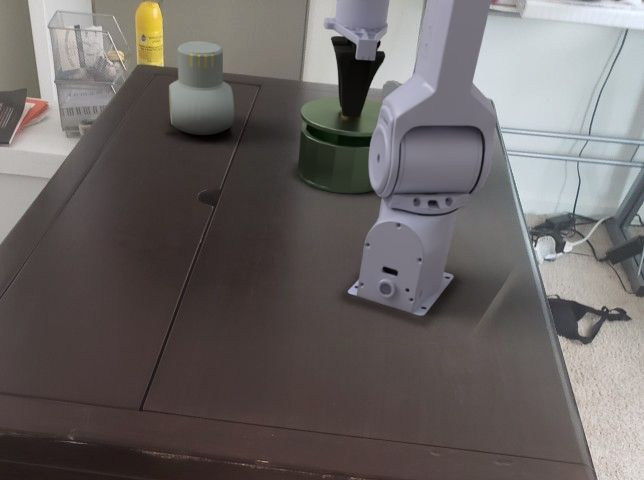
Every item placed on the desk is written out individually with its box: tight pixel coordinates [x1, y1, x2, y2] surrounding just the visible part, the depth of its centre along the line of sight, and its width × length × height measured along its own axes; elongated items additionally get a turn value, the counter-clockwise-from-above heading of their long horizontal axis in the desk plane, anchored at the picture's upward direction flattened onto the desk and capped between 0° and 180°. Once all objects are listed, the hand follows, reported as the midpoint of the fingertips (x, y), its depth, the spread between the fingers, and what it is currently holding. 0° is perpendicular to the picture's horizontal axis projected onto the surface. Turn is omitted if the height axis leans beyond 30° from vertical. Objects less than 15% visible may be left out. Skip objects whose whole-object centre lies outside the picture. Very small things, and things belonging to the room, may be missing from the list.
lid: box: [300, 96, 382, 137], centre depth 88 cm, size 12×12×5 cm
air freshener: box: [168, 40, 235, 136], centre depth 100 cm, size 11×8×10 cm
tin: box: [297, 121, 375, 195], centre depth 92 cm, size 11×11×5 cm
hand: (349, 111), depth 89 cm, fingers closed on lid, 2 cm apart
